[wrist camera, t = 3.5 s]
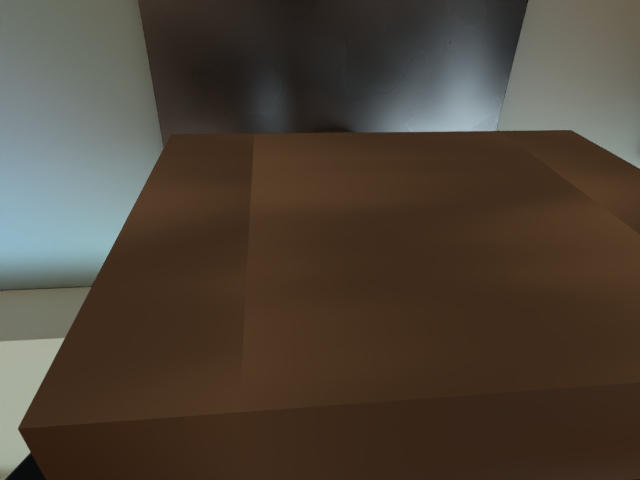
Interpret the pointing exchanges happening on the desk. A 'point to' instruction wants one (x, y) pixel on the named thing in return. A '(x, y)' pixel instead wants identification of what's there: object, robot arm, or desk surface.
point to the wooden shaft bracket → (359, 315)
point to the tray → (29, 356)
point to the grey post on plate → (330, 64)
